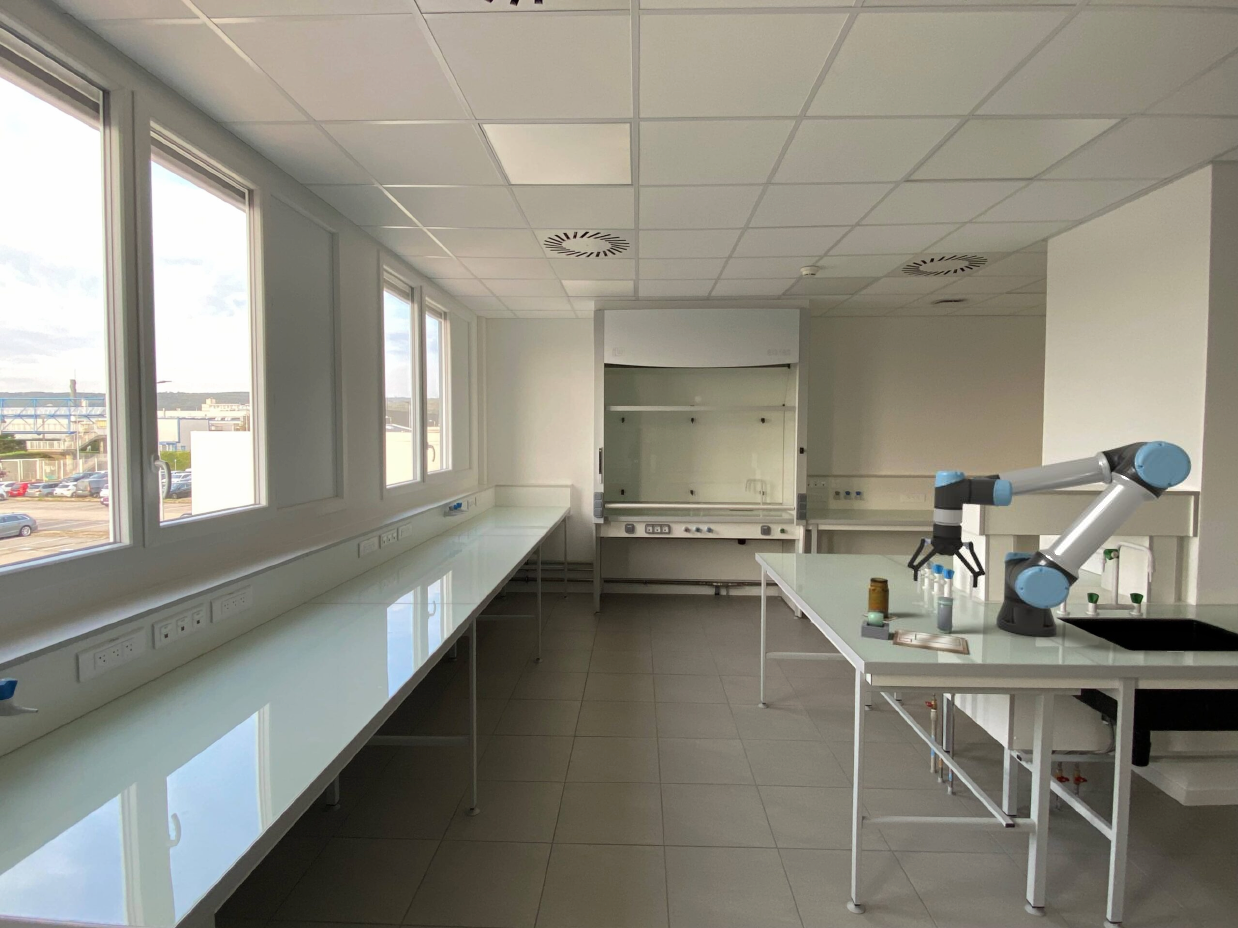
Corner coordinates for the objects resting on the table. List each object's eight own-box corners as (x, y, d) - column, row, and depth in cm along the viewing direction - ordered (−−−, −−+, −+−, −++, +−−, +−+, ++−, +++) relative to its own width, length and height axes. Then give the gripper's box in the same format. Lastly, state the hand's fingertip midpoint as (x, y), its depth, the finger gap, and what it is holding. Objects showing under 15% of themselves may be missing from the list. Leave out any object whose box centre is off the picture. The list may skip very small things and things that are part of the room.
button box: (889, 633, 185) (889, 623, 185) (887, 639, 178) (888, 629, 178) (863, 629, 188) (863, 619, 188) (861, 636, 182) (861, 625, 181)
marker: (951, 631, 188) (952, 597, 187) (952, 634, 184) (953, 600, 184) (936, 629, 190) (937, 595, 189) (937, 632, 186) (938, 598, 186)
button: (883, 622, 184) (883, 612, 184) (882, 626, 180) (882, 616, 180) (868, 621, 186) (869, 610, 186) (867, 624, 182) (867, 614, 182)
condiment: (873, 611, 208) (874, 575, 208) (899, 617, 202) (900, 580, 202) (862, 615, 204) (863, 578, 203) (887, 621, 197) (888, 583, 197)
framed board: (964, 639, 179) (964, 637, 179) (967, 654, 167) (967, 651, 167) (895, 630, 187) (895, 628, 187) (892, 644, 175) (893, 641, 175)
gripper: (995, 525, 184) (991, 598, 185) (901, 518, 195) (898, 587, 196) (998, 528, 177) (994, 603, 178) (900, 521, 188) (897, 592, 189)
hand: (944, 595), depth 187 cm, fingers open, 13 cm apart
